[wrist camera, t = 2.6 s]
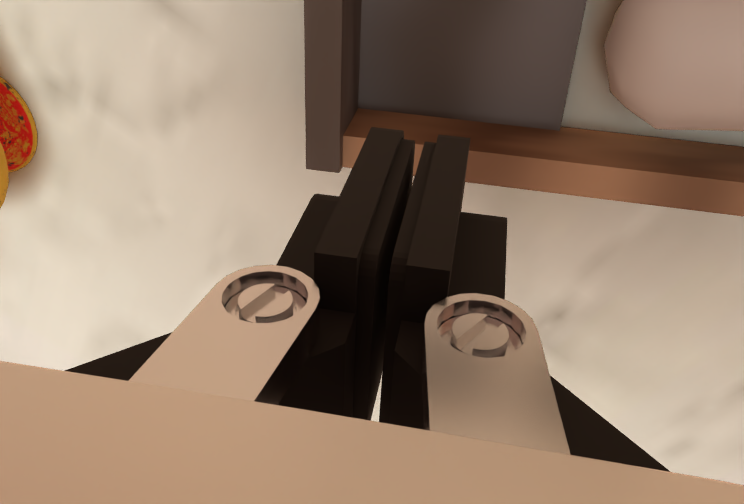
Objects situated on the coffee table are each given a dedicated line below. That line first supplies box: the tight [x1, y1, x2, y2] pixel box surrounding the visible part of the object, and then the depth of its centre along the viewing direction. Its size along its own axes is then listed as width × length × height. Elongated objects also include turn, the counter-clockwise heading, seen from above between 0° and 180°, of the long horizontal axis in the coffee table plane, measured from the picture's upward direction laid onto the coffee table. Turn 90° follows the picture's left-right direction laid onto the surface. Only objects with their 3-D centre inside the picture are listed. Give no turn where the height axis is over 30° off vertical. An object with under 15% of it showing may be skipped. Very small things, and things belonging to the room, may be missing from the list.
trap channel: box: [304, 0, 744, 216], centre depth 21 cm, size 26×10×4 cm, turn 87°
